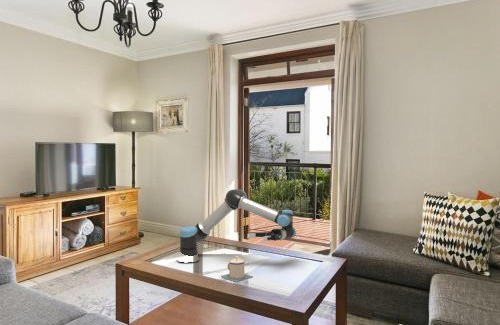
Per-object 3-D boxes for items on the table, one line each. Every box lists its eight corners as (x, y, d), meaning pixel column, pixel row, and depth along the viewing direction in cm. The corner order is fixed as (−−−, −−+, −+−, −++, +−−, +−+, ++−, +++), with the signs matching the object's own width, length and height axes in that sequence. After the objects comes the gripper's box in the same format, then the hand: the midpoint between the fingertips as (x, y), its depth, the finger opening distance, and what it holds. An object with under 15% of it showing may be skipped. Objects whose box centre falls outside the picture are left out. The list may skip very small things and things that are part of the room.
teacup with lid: (248, 276, 178) (248, 256, 179) (237, 280, 171) (237, 259, 172) (233, 273, 186) (233, 253, 187) (222, 276, 179) (222, 255, 180)
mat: (218, 277, 179) (218, 276, 179) (237, 272, 189) (237, 271, 189) (234, 282, 169) (234, 281, 169) (253, 277, 179) (253, 276, 179)
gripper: (292, 242, 198) (269, 246, 183) (264, 237, 216) (241, 241, 201) (292, 230, 198) (270, 234, 184) (264, 226, 216) (242, 229, 202)
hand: (255, 237), depth 192 cm, fingers open, 13 cm apart
